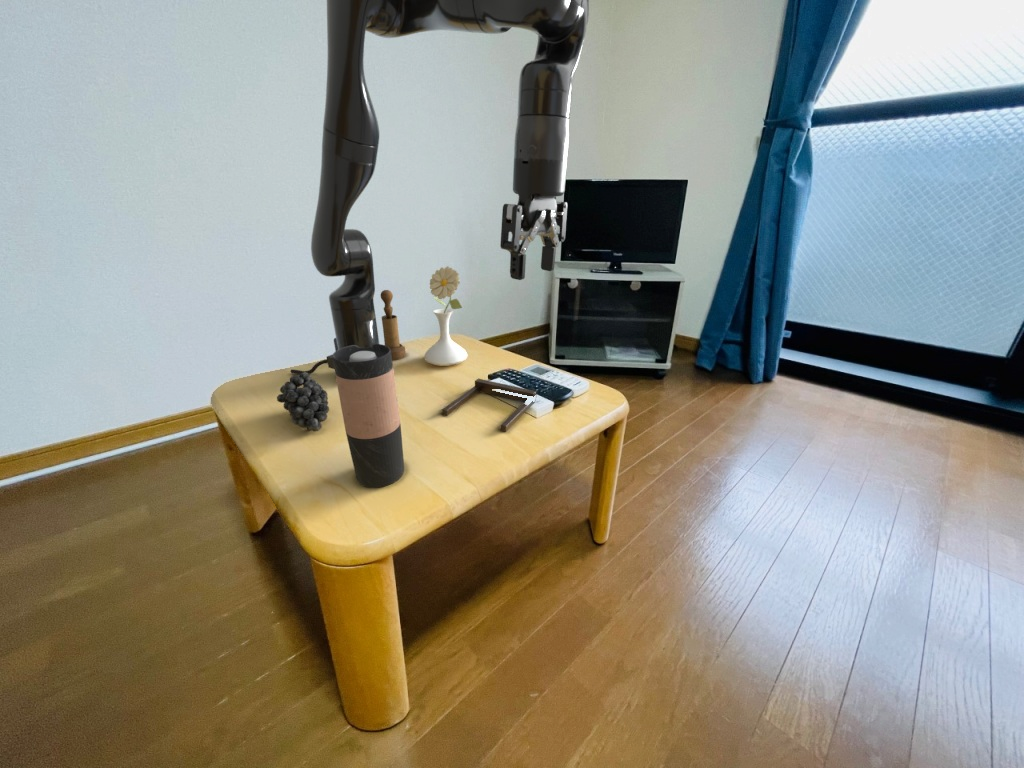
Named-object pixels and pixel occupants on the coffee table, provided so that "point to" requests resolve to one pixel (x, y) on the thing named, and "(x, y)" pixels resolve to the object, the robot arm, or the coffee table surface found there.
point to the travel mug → (370, 413)
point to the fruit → (305, 401)
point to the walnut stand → (487, 388)
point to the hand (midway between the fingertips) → (532, 274)
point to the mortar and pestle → (391, 328)
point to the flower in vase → (445, 319)
